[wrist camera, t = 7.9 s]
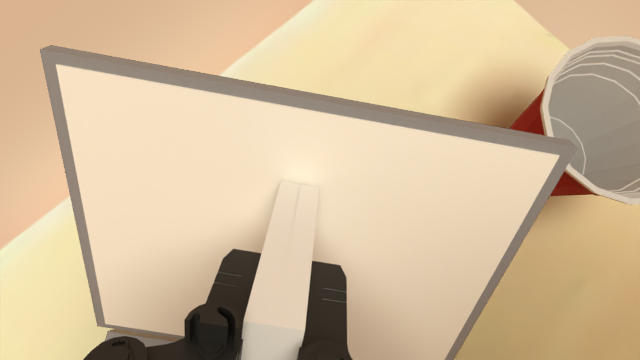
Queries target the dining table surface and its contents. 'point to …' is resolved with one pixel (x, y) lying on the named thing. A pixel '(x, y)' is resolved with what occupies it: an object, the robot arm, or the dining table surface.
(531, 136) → the box lid
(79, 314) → the dining table surface
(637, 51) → the plastic cup
